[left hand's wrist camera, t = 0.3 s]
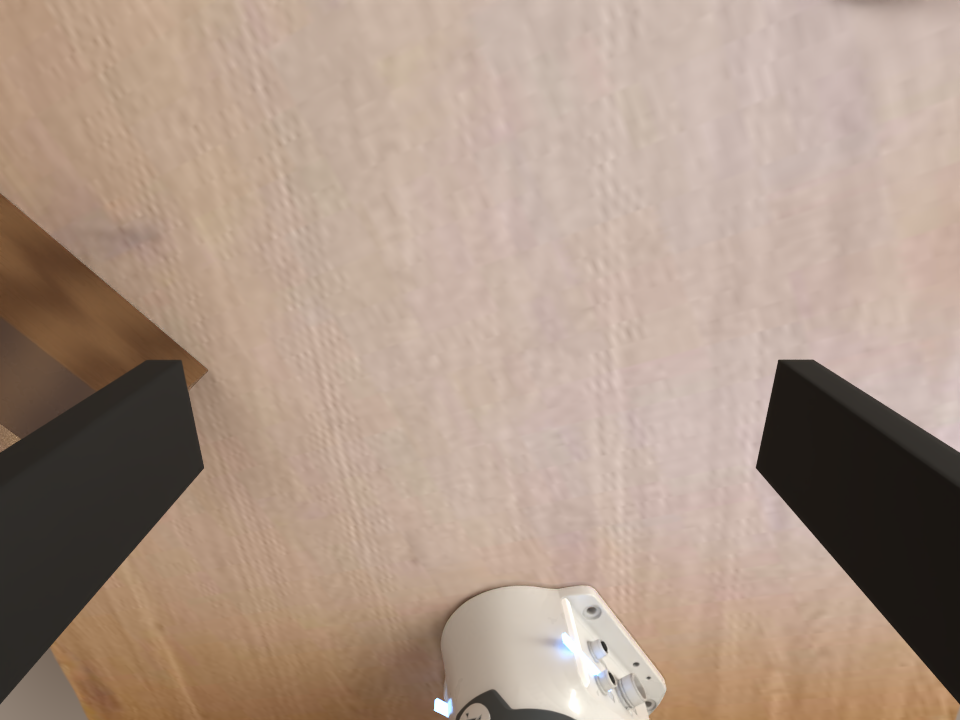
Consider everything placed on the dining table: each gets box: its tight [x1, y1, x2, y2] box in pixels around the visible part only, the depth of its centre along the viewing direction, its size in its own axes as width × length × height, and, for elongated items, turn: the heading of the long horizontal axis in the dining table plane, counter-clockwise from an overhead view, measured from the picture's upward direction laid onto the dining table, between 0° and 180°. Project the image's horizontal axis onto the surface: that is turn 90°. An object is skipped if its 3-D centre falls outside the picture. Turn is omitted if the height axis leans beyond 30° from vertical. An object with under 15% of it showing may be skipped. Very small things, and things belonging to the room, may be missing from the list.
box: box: [0, 194, 208, 439], centre depth 35 cm, size 21×6×9 cm, turn 42°
